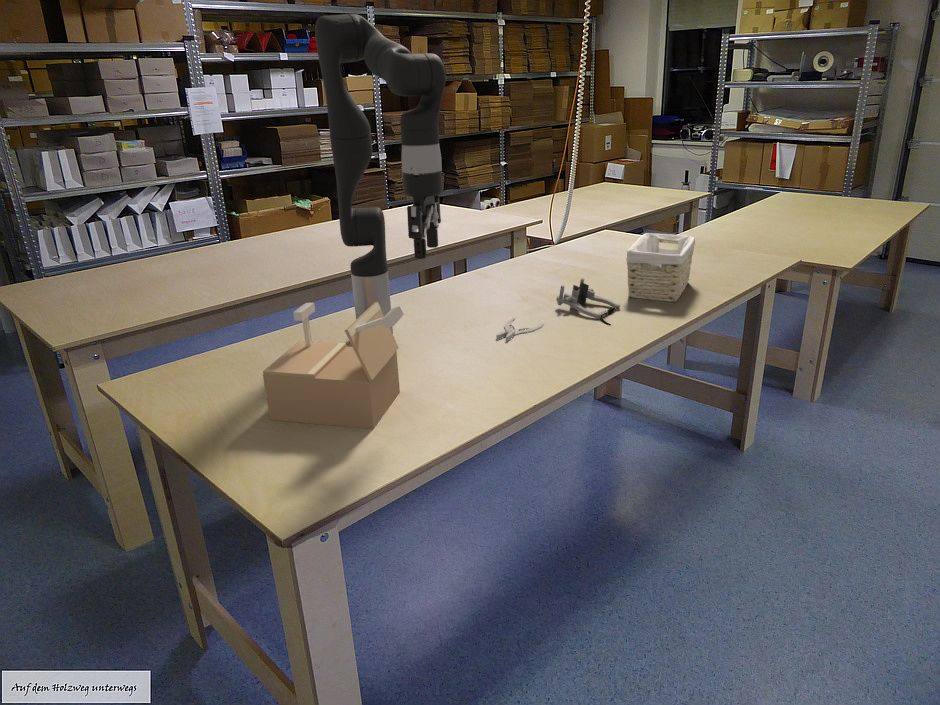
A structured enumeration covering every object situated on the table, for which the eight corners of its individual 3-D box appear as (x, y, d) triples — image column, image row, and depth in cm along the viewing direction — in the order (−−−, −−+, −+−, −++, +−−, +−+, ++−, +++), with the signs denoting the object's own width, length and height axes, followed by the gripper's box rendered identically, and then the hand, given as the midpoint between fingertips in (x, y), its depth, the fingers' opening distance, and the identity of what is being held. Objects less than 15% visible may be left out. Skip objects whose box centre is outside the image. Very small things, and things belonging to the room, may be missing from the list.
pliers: (545, 320, 177) (519, 339, 165) (545, 326, 177) (519, 345, 165) (512, 314, 181) (485, 332, 170) (512, 320, 182) (485, 338, 170)
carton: (306, 384, 148) (294, 302, 140) (400, 391, 143) (393, 306, 135) (270, 419, 133) (255, 330, 125) (373, 428, 128) (364, 336, 120)
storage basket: (678, 305, 188) (683, 254, 182) (621, 298, 195) (624, 249, 189) (692, 281, 208) (697, 235, 202) (640, 276, 214) (643, 231, 209)
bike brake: (550, 306, 188) (608, 333, 176) (554, 284, 185) (613, 310, 173) (579, 295, 197) (636, 320, 185) (583, 274, 194) (641, 298, 182)
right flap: (374, 302, 135) (413, 288, 132) (396, 348, 138) (435, 336, 135) (344, 330, 121) (387, 315, 118) (369, 381, 124) (411, 367, 121)
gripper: (414, 163, 133) (419, 243, 139) (390, 174, 120) (397, 261, 126) (450, 163, 131) (453, 244, 137) (430, 174, 118) (435, 262, 125)
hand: (426, 252), depth 132 cm, fingers open, 8 cm apart
